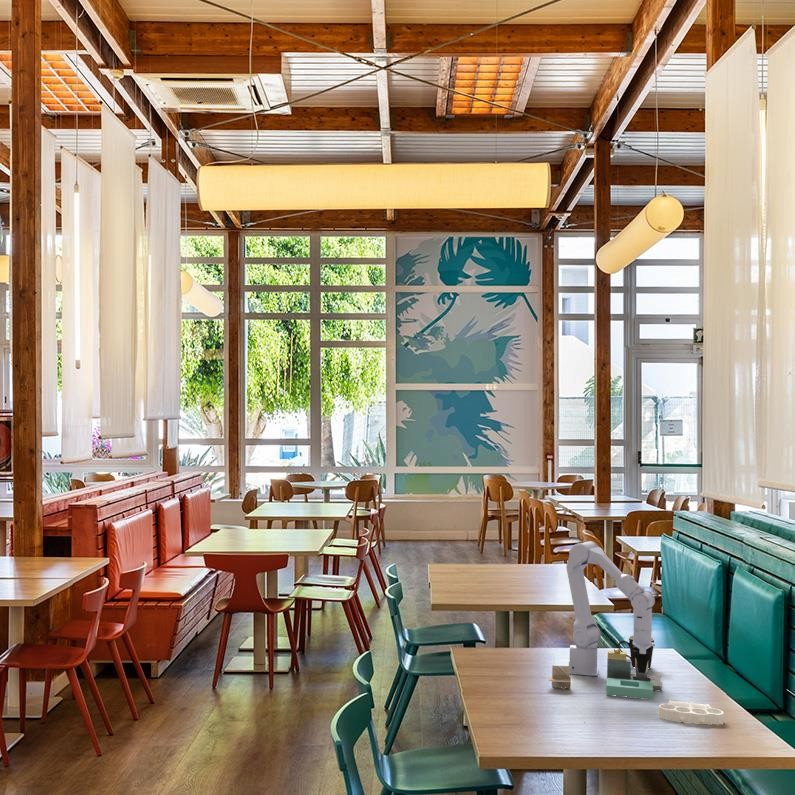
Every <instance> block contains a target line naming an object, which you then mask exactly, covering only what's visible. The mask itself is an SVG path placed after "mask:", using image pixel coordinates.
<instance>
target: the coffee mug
mask: <svg viewBox="0 0 795 795" xmlns="http://www.w3.org/2000/svg"><path fill="white" fill-rule="evenodd" d="M623 643H625V644H627V647H628V648H629V652H630V655H628V654H627V657H626V658H627V659H628V658H629V660H631V667H632V666H633V667H635V661H636V657H635V655H634V652H633V650H634V649H633V646H634V645H633V635H630V636H628V641H626V640H621V641H619V642H618V644H617V647H618V648H617V649H620V652H624V651H623V650H622V649H621V647H620V646H621V644H623ZM651 643H655V638H654V637H652V636H651ZM653 651H654V646H651V650H650V651H649V652H651V656H650V657H649V660H648V668H650V667H651V666H652V660H653V653H654V652H653ZM633 667H632V668H633ZM650 669H651V668H650Z"/></svg>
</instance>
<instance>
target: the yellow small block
mask: <svg viewBox="0 0 795 795" xmlns="http://www.w3.org/2000/svg"><path fill="white" fill-rule="evenodd" d="M620 649H621V648H620ZM620 649H619V648H613V650H611V651H610V650H607V658H608V659H616V660H626V659H627V658H628V657H627V655H628V654H627V652H625V651H623V652H621V651H620Z"/></svg>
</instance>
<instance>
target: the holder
mask: <svg viewBox="0 0 795 795" xmlns="http://www.w3.org/2000/svg"><path fill="white" fill-rule="evenodd" d="M609 695H616V696H615V697H619V696H627V697H626V698H630V697H636V698H635V699H640V698H643V699H642V700H651V699H653V700H654V691H653V685H652V682H649V681H638V680H627V679H616V678H607V677H606V696H609Z"/></svg>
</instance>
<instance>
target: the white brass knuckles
mask: <svg viewBox="0 0 795 795" xmlns="http://www.w3.org/2000/svg"><path fill="white" fill-rule="evenodd" d="M658 718H660V719H662V718H663V719H662V720H664V719H666V720H665V721H673V720H675V721H674V722H677V721H678V722H677V723H680V722H684V723H683V724H685V723H696V724H695V725H697V724H708V725H712V724H722V725H724V724H725V713H724V711H723V710H721V709H719V708H714V707H711V705H710V704H709V703H706V704H704V703H703V704H702V703H695V702H691V701H688V702H687V701H686V702H685V701H677V700H676V701H674V700H668V703H661V704H659V705H658ZM711 723H712V724H711ZM723 723H724V724H723Z"/></svg>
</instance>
